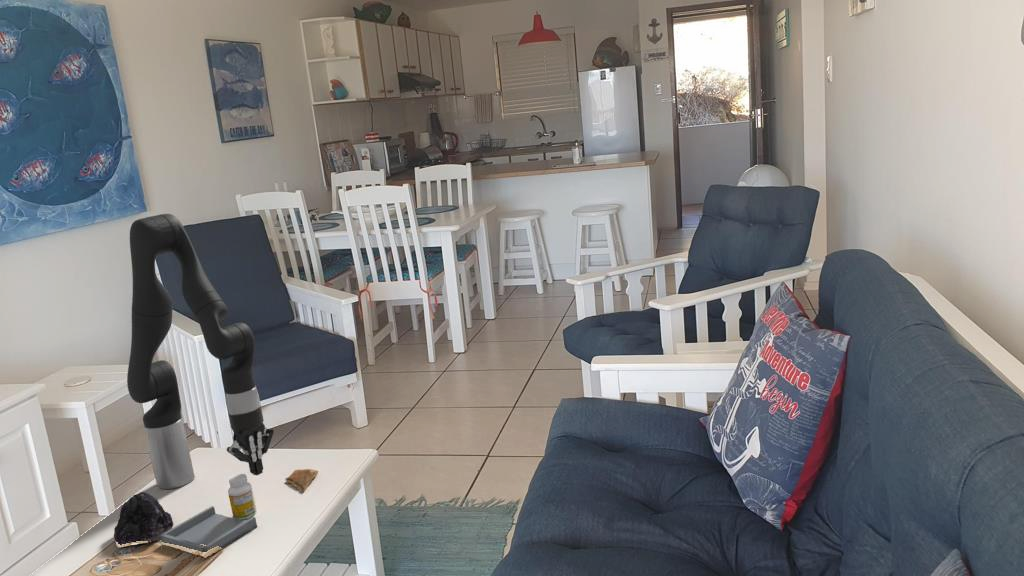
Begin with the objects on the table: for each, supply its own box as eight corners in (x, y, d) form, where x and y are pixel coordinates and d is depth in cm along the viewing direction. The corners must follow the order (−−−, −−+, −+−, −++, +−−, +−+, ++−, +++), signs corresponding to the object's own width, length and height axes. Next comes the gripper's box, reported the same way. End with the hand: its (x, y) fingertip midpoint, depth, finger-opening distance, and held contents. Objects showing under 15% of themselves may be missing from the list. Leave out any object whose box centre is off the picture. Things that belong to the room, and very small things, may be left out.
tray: (162, 544, 179) (160, 535, 178) (213, 515, 190) (211, 506, 190) (206, 558, 170) (204, 548, 170) (257, 526, 182) (255, 517, 181)
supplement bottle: (236, 511, 191) (229, 474, 189) (259, 507, 191) (251, 470, 189) (230, 522, 186) (222, 484, 183) (254, 518, 186) (246, 481, 184)
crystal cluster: (148, 555, 176) (144, 513, 175) (97, 548, 180) (93, 507, 178) (187, 528, 189) (183, 489, 187) (139, 522, 193) (135, 483, 191)
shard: (304, 494, 197) (303, 487, 196) (275, 495, 198) (274, 489, 197) (320, 474, 207) (318, 468, 207) (292, 475, 208) (291, 469, 208)
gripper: (255, 395, 195) (267, 460, 199) (210, 415, 184) (225, 483, 188) (276, 398, 191) (288, 464, 195) (232, 419, 180) (246, 488, 184)
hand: (257, 473), depth 191 cm, fingers closed
